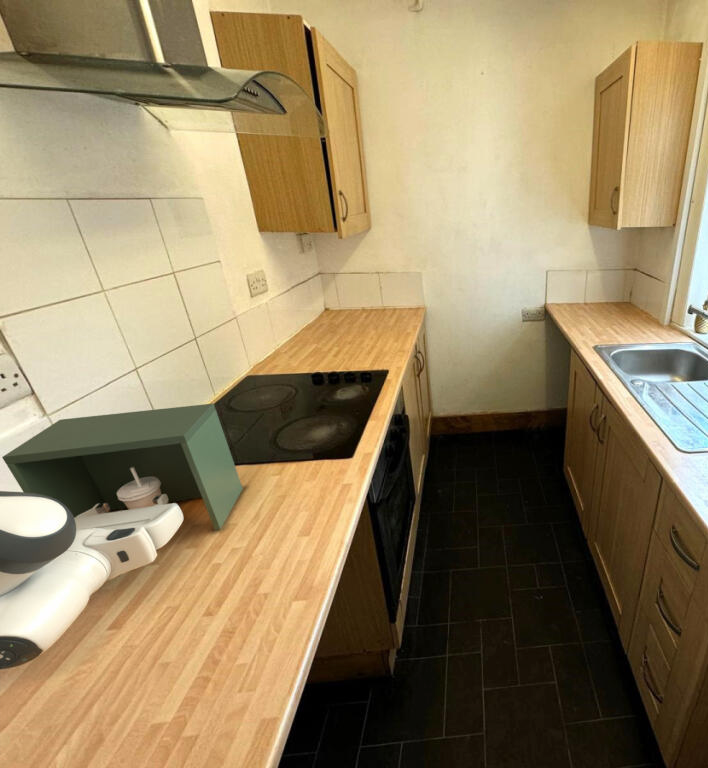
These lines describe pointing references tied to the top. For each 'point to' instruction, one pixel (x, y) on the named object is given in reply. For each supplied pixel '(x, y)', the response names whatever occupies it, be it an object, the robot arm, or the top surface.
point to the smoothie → (139, 491)
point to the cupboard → (131, 459)
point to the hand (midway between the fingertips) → (134, 501)
